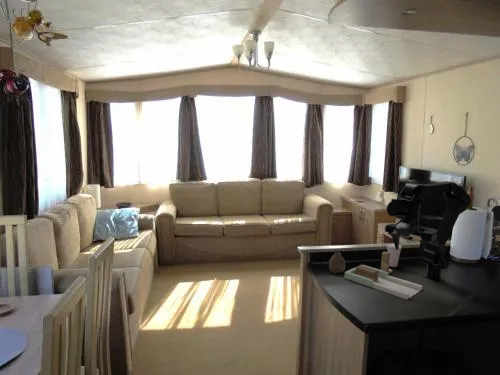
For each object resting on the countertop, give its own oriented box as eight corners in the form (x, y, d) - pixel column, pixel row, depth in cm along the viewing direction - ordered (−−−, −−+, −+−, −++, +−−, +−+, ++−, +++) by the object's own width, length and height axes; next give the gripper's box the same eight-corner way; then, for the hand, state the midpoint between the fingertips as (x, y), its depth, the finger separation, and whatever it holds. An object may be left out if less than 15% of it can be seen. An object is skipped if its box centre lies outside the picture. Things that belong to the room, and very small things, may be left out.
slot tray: (361, 272, 161) (362, 264, 161) (422, 291, 143) (423, 282, 142) (344, 280, 152) (344, 272, 151) (406, 301, 133) (407, 292, 133)
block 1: (360, 274, 156) (361, 265, 156) (368, 276, 154) (369, 267, 153) (355, 276, 154) (356, 267, 153) (364, 279, 151) (364, 269, 150)
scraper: (384, 271, 163) (386, 250, 161) (391, 274, 160) (393, 252, 159) (376, 275, 158) (378, 253, 156) (384, 278, 155) (386, 255, 154)
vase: (346, 271, 162) (347, 252, 161) (343, 276, 156) (344, 256, 154) (330, 268, 165) (331, 249, 163) (326, 273, 159) (328, 254, 157)
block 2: (368, 276, 153) (369, 267, 153) (377, 279, 151) (378, 270, 150) (363, 279, 151) (364, 269, 150) (372, 282, 148) (373, 272, 147)
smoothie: (401, 268, 167) (403, 239, 165) (386, 267, 168) (388, 237, 166) (398, 264, 173) (401, 235, 171) (384, 262, 174) (386, 234, 172)
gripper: (379, 213, 148) (376, 250, 150) (427, 222, 134) (423, 263, 136) (392, 210, 155) (389, 245, 157) (439, 218, 142) (435, 257, 144)
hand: (408, 252), depth 149 cm, fingers open, 9 cm apart
